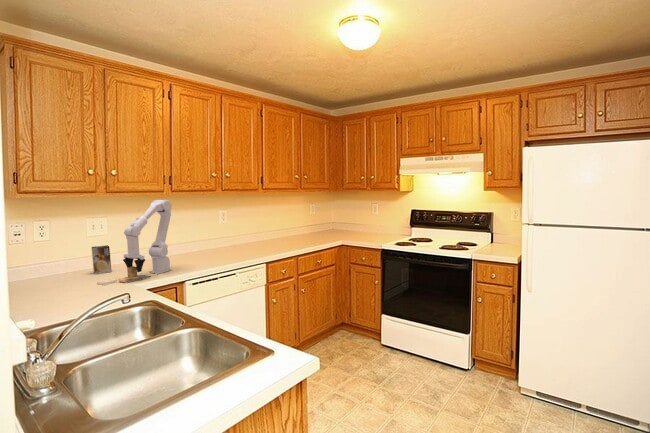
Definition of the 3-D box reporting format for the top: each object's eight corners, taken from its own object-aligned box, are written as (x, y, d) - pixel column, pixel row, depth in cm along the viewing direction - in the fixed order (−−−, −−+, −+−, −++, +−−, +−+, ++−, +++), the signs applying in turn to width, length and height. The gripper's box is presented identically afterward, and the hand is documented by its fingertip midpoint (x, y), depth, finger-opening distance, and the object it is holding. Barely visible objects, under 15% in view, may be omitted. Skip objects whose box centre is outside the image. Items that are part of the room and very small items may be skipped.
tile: (109, 278, 205) (96, 281, 199) (116, 279, 202) (103, 283, 196) (109, 281, 205) (97, 285, 199) (116, 282, 202) (104, 286, 196)
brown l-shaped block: (133, 277, 210) (132, 266, 210) (138, 278, 208) (137, 266, 208) (118, 281, 202) (117, 269, 202) (123, 282, 200) (123, 270, 200)
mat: (140, 275, 217) (140, 274, 217) (151, 276, 213) (151, 276, 213) (118, 281, 205) (118, 280, 205) (129, 282, 201) (129, 282, 201)
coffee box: (110, 270, 231) (108, 244, 229) (111, 272, 226) (109, 246, 224) (93, 272, 225) (91, 246, 224) (94, 274, 220) (92, 248, 219)
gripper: (118, 247, 207) (119, 271, 208) (135, 249, 201) (137, 274, 202) (129, 245, 213) (130, 268, 214) (147, 247, 207) (148, 271, 208)
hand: (134, 271), depth 209 cm, fingers open, 7 cm apart
